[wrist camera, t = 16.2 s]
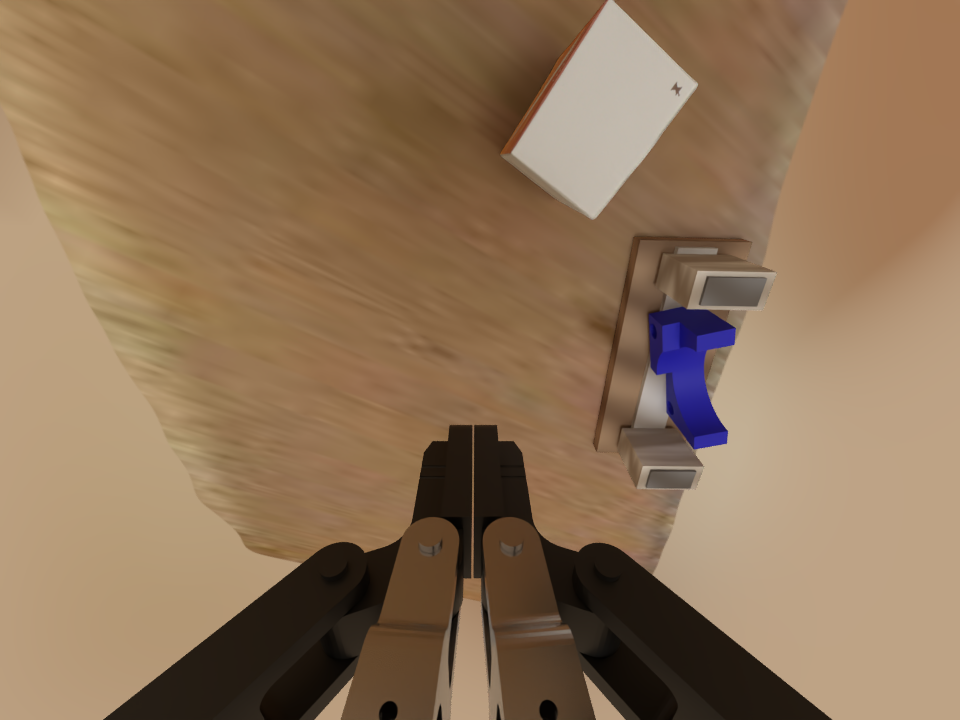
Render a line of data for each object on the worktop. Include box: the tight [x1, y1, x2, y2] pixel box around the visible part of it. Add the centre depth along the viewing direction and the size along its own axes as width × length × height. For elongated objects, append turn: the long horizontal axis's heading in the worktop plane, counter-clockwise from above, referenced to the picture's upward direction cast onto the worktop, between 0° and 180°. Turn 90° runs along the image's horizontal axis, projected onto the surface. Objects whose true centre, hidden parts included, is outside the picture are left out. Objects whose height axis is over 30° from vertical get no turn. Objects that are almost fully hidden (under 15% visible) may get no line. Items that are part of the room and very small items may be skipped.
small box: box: [500, 0, 698, 220], centre depth 26 cm, size 8×6×13 cm
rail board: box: [593, 237, 777, 489], centre depth 38 cm, size 24×10×8 cm, turn 179°
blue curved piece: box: [649, 307, 736, 449], centre depth 37 cm, size 12×4×6 cm, turn 13°
